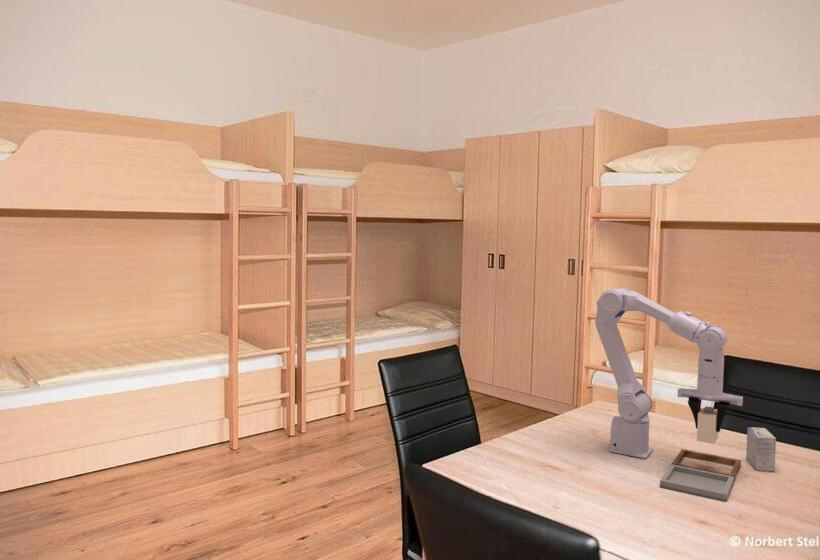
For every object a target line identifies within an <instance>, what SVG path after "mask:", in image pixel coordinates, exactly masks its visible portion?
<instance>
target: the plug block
mask: <svg viewBox="0 0 820 560" xmlns="http://www.w3.org/2000/svg"><path fill="white" fill-rule="evenodd" d="M716 425H717V408H716V409H715V407H712V406H707V405H706V406H705V407H702V406H701V410H700V411H699V413H698V425H697V429H696V441H697V442H701V443H707V444H712V445H715V444H716V443H717V440H718V439H719V432H716Z"/></svg>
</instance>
